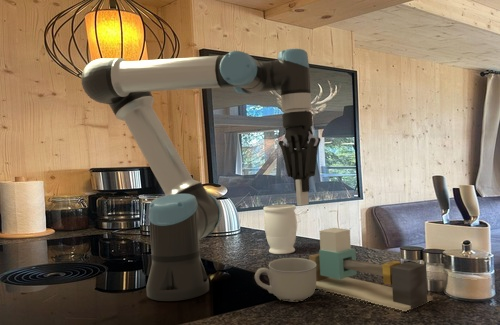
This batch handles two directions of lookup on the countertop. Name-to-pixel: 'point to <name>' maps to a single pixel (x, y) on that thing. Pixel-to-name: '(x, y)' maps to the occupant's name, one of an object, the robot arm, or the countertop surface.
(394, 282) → the rail
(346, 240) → the sleeve
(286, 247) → the jar
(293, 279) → the teacup
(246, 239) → the countertop surface
